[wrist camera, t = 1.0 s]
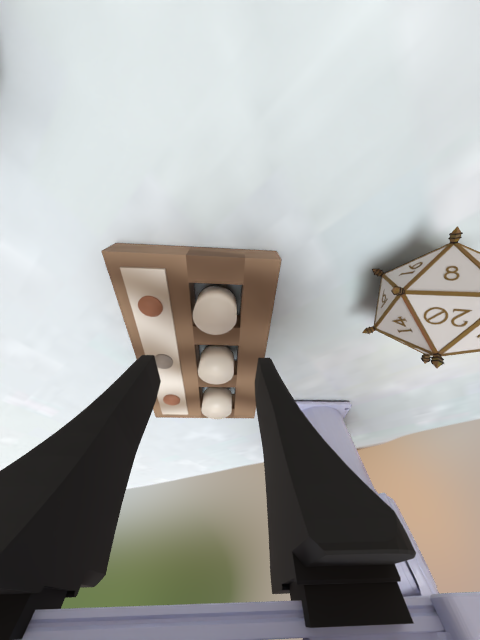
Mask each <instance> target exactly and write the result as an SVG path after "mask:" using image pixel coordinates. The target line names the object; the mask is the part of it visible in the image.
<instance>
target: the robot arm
mask: <svg viewBox="0 0 480 640" xmlns="http://www.w3.org/2000/svg"><path fill="white" fill-rule="evenodd" d="M160 383H161V380H160V376H159V372H158V368H157V364H156V360H155V356H154V355H141V356H140V357H139V358H138V359H137V360H136V361H135V362H134V363H133V364H132V365H131V366H130V367H129V368H128V369H127V370H126V371H125V372H124V373H123V374H122V375H121V376H120V377H119V378H118V379H117V380H116V381H115V382H114V383H113V384H112V385H111V386H110V387H109V388H108V389H107V390H106V391H105V392H104V393H103V394H101V395H100V396H99V397H98V398H97V399H96V400H95V401H94V402H93V403H91V404H90V405H89V406H88V407H87V408H86V409H85V410H83V411H82V412H81V413H80V414H79V415H77V416H76V417H75V418H74V419H72V420H71V421H70V422H69V423H67V424H66V425H65V426H64V427H62V428H61V429H60V430H58V431H57V432H56V433H54V434H53V435H52V436H50V437H49V438H48V439H46V440H45V441H43V442H42V443H41V444H39V445H38V446H36V447H35V448H34V449H32V450H31V451H29V452H28V453H27V454H25V455H24V456H22V457H21V458H19V459H18V460H16V461H15V462H13V463H12V464H10V465H9V466H7V467H6V468H4V469H3V470H1V471H0V640H264V639H265V640H266V639H285V638H286V639H288V638H303V640H480V592H465V593H442V594H439V592H438V590H437V586H436V584H435V581H434V579H433V577H432V575H431V573H430V571H429V569H428V566H427V564H426V563H425V560H424V558H423V556H422V554H421V552H420V550H419V548H418V546H417V544H416V542H415V540H414V538H413V536H412V534H411V532H410V530H409V528H408V526H407V524H406V522H405V520H404V518H403V516H402V514H401V512H400V510H399V508H398V507H397V505H396V503H395V501H394V500H393V499H392V498H390V497H388V496H387V495H386V494H385V493H380V494H378V493H377V491H376V490H375V489H374V487H373V485H372V483H371V480H370V478H369V476H368V474H367V471H366V469H365V467H364V465H363V463H362V460H361V458H360V456H359V454H358V451H357V449H356V447H355V445H354V442H353V440H352V438H351V436H350V433H349V431H348V429H347V427H346V425H345V422H344V420H343V419H344V418H345V416H346V414H347V413H348V411H349V410H350V408H351V406H352V405H351V403H350V402H310V401H295V400H294V399H293V397H292V396H291V394H290V393H289V391H288V389H287V388H286V386H285V384H284V383H283V381H282V379H281V377H280V376H279V374H278V372H277V370H276V368H275V366H274V364H273V362H272V360H271V359H270V358H258V363H257V369H256V376H255V401H256V408H257V415H258V421H259V427H260V433H261V440H262V446H263V454H264V466H265V480H266V494H267V511H268V528H269V549H270V572H271V585H272V594H283V593H290V596H291V601H271V602H245V603H214V604H188V605H187V604H186V605H159V606H158V605H157V606H129V607H104V608H103V607H100V608H72V609H61V606H62V604H63V601H64V599H65V597H76V596H77V594H78V591H79V589H80V587H94V586H96V585H97V584H98V583H99V582H100V581H101V580H102V579H103V577H104V576H105V575H106V571H107V565H108V561H109V557H110V552H111V548H112V543H113V539H114V534H115V530H116V526H117V522H118V518H119V513H120V510H121V505H122V501H123V498H124V494H125V490H126V487H127V483H128V479H129V476H130V472H131V469H132V465H133V462H134V458H135V455H136V452H137V449H138V446H139V443H140V441H141V438H142V436H143V433H144V431H145V428H146V425H147V423H148V420H149V418H150V415H151V412H152V410H153V407H154V405H155V402H156V399H157V395H158V391H159V387H160Z"/></svg>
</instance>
